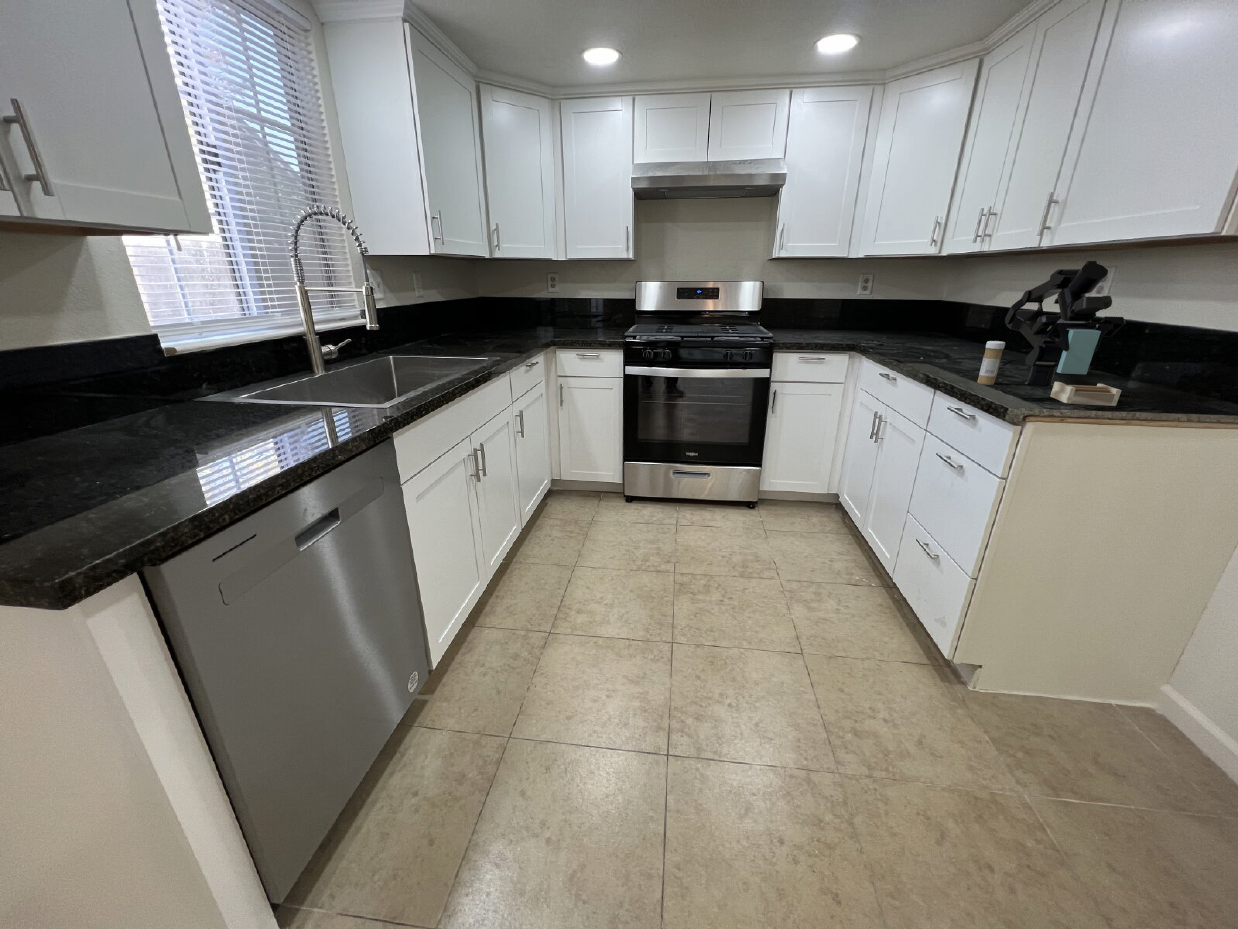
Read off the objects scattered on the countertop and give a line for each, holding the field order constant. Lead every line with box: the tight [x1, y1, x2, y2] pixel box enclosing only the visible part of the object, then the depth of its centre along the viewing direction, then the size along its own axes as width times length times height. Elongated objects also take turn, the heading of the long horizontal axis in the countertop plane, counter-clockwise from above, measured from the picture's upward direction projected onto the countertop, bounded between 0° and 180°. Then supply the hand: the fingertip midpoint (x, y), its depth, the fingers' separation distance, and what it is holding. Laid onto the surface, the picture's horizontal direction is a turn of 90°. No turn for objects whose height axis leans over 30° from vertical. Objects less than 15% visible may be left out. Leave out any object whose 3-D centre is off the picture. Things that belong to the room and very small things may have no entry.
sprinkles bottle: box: [976, 340, 1006, 386], centre depth 150 cm, size 5×5×13 cm
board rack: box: [1050, 381, 1122, 407], centre depth 130 cm, size 8×11×5 cm
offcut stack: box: [1068, 384, 1110, 393], centre depth 129 cm, size 3×8×4 cm, turn 73°
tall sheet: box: [1056, 330, 1101, 375], centre depth 134 cm, size 2×6×12 cm, turn 73°
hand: (1081, 350), depth 133 cm, fingers closed on tall sheet, 6 cm apart
